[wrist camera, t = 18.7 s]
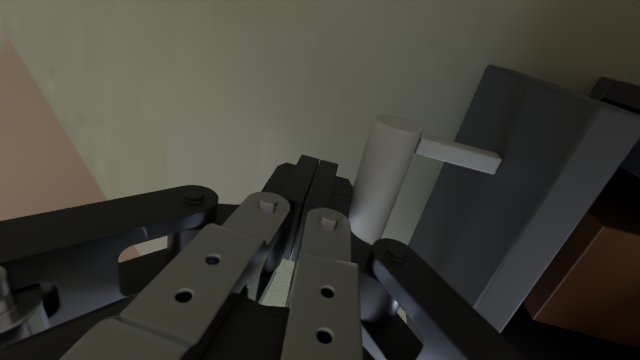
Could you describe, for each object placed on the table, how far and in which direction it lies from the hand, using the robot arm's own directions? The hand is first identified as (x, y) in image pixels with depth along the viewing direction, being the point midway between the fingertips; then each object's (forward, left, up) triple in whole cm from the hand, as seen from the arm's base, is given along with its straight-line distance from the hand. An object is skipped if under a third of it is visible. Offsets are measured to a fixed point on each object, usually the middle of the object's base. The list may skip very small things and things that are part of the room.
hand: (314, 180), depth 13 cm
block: (0, +14, -1) cm, 14 cm away
